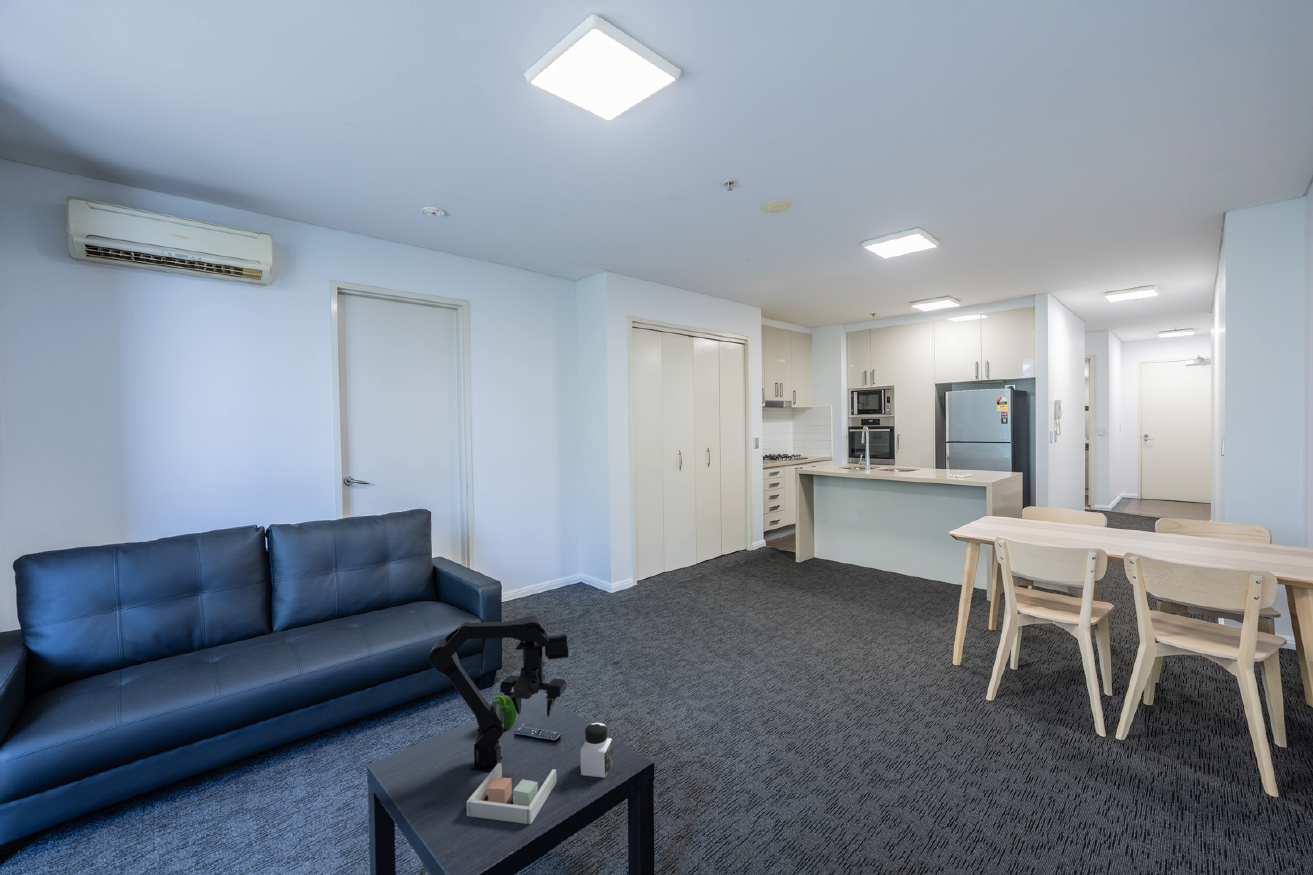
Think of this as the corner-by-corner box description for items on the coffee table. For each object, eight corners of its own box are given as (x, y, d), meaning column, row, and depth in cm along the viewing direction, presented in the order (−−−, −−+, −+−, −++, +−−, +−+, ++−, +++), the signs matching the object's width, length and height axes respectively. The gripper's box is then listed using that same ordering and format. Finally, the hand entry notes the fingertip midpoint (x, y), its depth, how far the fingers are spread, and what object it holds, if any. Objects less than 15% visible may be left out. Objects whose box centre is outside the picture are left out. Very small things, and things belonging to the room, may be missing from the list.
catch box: (466, 815, 134) (466, 801, 134) (498, 775, 149) (498, 763, 149) (530, 824, 130) (530, 809, 130) (556, 782, 146) (556, 769, 146)
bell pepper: (521, 719, 179) (521, 689, 179) (511, 733, 171) (510, 701, 171) (497, 718, 180) (497, 688, 180) (486, 731, 172) (485, 700, 172)
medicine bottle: (605, 778, 147) (604, 734, 147) (580, 775, 149) (579, 732, 149) (612, 762, 154) (611, 720, 154) (588, 760, 156) (588, 718, 156)
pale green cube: (513, 805, 137) (513, 790, 137) (522, 794, 141) (522, 779, 141) (529, 809, 136) (528, 793, 136) (538, 797, 140) (537, 782, 140)
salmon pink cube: (488, 803, 138) (487, 788, 138) (495, 792, 143) (495, 777, 143) (504, 804, 138) (504, 789, 138) (511, 793, 142) (511, 778, 142)
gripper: (489, 671, 152) (490, 726, 152) (551, 675, 149) (553, 732, 149) (508, 655, 163) (509, 707, 163) (566, 659, 159) (567, 712, 159)
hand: (533, 714), depth 158 cm, fingers open, 9 cm apart
